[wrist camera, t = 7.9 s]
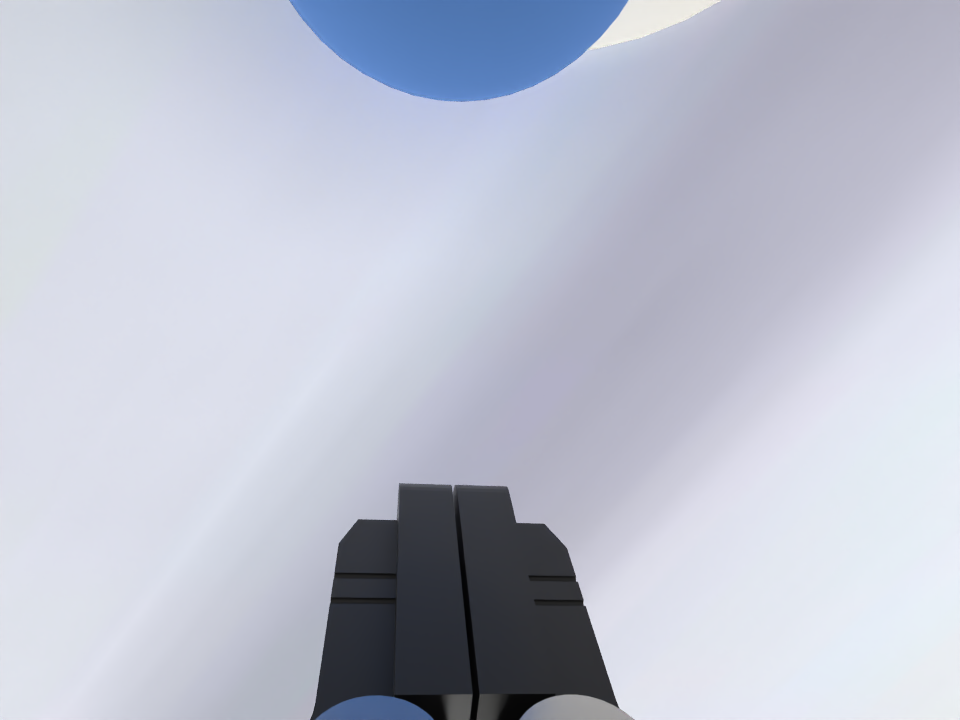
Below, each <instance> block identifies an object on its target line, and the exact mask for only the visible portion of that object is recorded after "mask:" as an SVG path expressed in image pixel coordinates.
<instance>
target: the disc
mask: <svg viewBox="0 0 960 720" xmlns="http://www.w3.org/2000/svg"><path fill="white" fill-rule="evenodd" d="M719 1H721V0H628V2H627V4H626V5H625V7H624V8H623V10H622V11H621V13H620V14H619V16H618V17H617V18H616V20H615V21H614V22H613V23H612V24H611V26H610V27H609V28H608V29H607V30H606V31H605V33H604V34H603V35H602V36H601V37H600V38H599V39H598V40H597V41H596V42H595V43H594V44H593V45H592V46H591V47H590V48H589V49H587V50H594V49H598V48H602V47H606V46H611V45H615V44H619V43H623V42H627V41H631V40H635V39H639V38H642V37H645V36H647V35H650V34H652V33H655V32H657V31H660V30H662V29H665V28H667V27H670V26H672V25H675V24H678V23H680V22H683V21H685V20H687V19H689V18H690V17H692V16H694V15H696V14H698V13H699V12H701V11H703V10H705V9H707V8H708V7H710V6H712V5H714V4H716V3H717V2H719Z"/></svg>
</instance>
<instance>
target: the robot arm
mask: <svg viewBox="0 0 960 720" xmlns="http://www.w3.org/2000/svg"><path fill="white" fill-rule="evenodd" d="M310 720H634V719H633V718H632V717H630V716H629V715H628V714H626V713H625V712H624V711H622V710H621V709H619V707H618V704H617V702H616V699H615V696H614V693H613V690H612V687H611V683H610V680H609V677H608V674H607V671H606V668H605V665H604V662H603V659H602V656H601V653H600V649H599V646H598V643H597V640H596V637H595V634H594V631H593V628H592V625H591V622H590V618H589V615H588V612H587V609H586V606H584V605H583V597H582V594H581V591H580V588H579V584H578V582H576V575H575V572H574V569H573V566H572V563H571V560H570V557H569V553H568V550H567V548H566V547H565V546H564V545H563V543H562V542H561V541H560V540H559V539H558V538H557V537H556V536H555V535H554V534H553V533H552V532H551V531H550V530H549V528H548V527H547V526H546V525H545V524H531V523H516V520H515V516H514V511H513V507H512V503H511V498H510V494H509V490H508V488H507V487H505V486H473V485H455V486H454V491H453V492H452V486H451V485H435V484H403V483H399V493H398V509H397V520H362V519H358V520H357V522H356V523H355V524H354V525H353V527H352V528H351V529H350V530H349V532H348V533H347V534H346V535H345V537H344V538H343V539H342V540H341V541H340V543H339V546H338V553H337V560H336V567H335V575H334V580H333V587H332V594H331V604H330V607H329V614H328V621H327V628H326V635H325V642H324V648H323V655H322V662H321V669H320V676H319V682H318V689H317V696H316V703H315V707H314V711H313V715H312V717H311V719H310Z"/></svg>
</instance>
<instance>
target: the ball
mask: <svg viewBox="0 0 960 720" xmlns="http://www.w3.org/2000/svg"><path fill="white" fill-rule="evenodd" d="M290 2H291V3H292V5H293V6H294V8H295V9H296V11H297V12H298V14H299V15H300V16H301V18H302V19H303V20H304V21H305V23H306V24H307V25H308V26H309V27H310V28H311V29H312V31H313V32H314V33H315V34H316V35H317V36H318V37H319V39H320V40H321V41H322V42H323V43H325V44H326V45H327V46H328V47H329V48H330V49H331V50H332V51H334V52H335V53H336V54H337V55H338V56H339V57H340V58H341V59H343V60H344V61H346V62H347V63H349V64H350V65H352V66H353V67H355V68H356V69H358V70H359V71H360V72H362V73H363V74H365V75H367V76H369V77H371V78H373V79H375V80H377V81H379V82H381V83H383V84H385V85H387V86H389V87H391V88H394V89H397V90H400V91H403V92H406V93H409V94H411V95H415V96H420V97H425V98H430V99H435V100H444V101H460V102H463V101H476V100H487V99H492V98H496V97H501V96H505V95H510V94H513V93H516V92H518V91H521V90H524V89H526V88H529V87H532V86H534V85H536V84H538V83H540V82H542V81H544V80H546V79H547V78H549V77H551V76H553V75H555V74H557V73H558V72H559V71H561V70H562V69H564V68H565V67H566V66H568V65H569V64H571V63H572V62H573V61H575V60H576V59H577V58H579V57H580V56H581V55H582V54H583V53H584V52H585V51H586V50H587V49H589V48H590V47H591V46H592V45H593V44H594V43H595V42H596V41H597V40H598V39H599V38H600V37H601V36H602V35H603V34H604V33H605V31H606V30H607V29H608V28H609V27H610V26H611V24H612V23H613V22H614V21H615V20H616V18H617V17H618V16H619V14H620V13H621V11H622V10H623V8H624V7H625V5H626V4H627V2H628V0H290Z"/></svg>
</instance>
